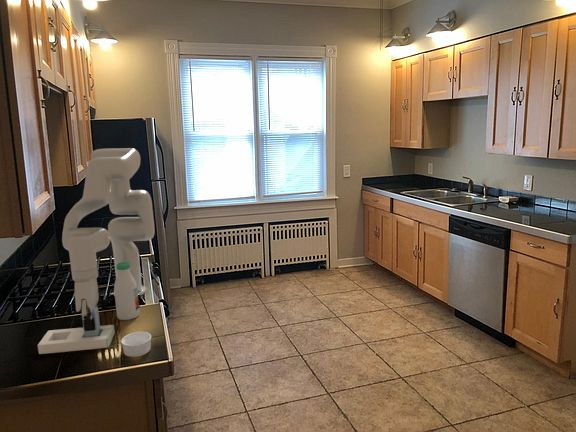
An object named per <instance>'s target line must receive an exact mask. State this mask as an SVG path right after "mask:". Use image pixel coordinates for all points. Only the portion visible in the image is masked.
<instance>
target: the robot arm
mask: <svg viewBox="0 0 576 432" xmlns="http://www.w3.org/2000/svg"><path fill="white" fill-rule="evenodd" d="M140 166H141V155H140V152H139V151H138V150H137V149H136V148H133V147H132V148H131V147H127V148H125V147H124V148H123V147H122V148H121V147H120V148H115V147H114V148H109V147H108V148H98V149H95V150H93V151H92V152H91V154H90V160H89V161H88V163H87V167H86V171H85V172H86V174H85V180H84V181H85V182H84V186H83V187H84V188H83V192H82V198H80V199H79V201H78V202H76V203H75V204H74V205H73V206H72V208H71V209H70V210H69V212H68V213H67V214H66V216H65V218H64V222H63V229H62V236H61V238H62V239H61V242H62V246H63V248H64V249H65V250H67V251H68V254H69V262H70V268H71V269H70V270H71V277H72V280H73V282H74V300H75V311H76V312H77V313H78V312H81V318H82V317H83V321H82V323H83V322H84V330H85V331H93V330H95V329H96V328H95V320H94V318H93V309H94V307H98V306H97V304H98V303H99V299H100V295H99V287H98V282H97V281H98V280H97V278H98V277H99V268H98V261H97V253H98V252H102V251H104V250H105V249H107V248H108V246H109V245H110V243H111V247H112V253H113V261H114V270H115V271H114V272H115V279H116V278H117V274H118V271H117V268H116V265H117V264H118V263H121V262H129V263H130V272H131V275H132V276H133V278H134V280H135V282H136V286H137V293H138V294H139V295H140V296H142V295H144V294H145V293H146V292H147V288H146V286H145V285H143V284H142V276H141V265H140V251H139V249H138V247H137V246H136V244H135V243H134V242H142V241H151V240H152V239H153V238H154V236H155V232H156V230H155V220H154V219H155V218H154V210H153V201H152V197H151V194H150V193H149V191H147V190H144V189H136V190H135V189H133V190H132V189H131V186H130V185H131V183H130V179H132V178H133V176H134V175H135V174H136V173H137V172H138V170H139V168H140ZM107 205H109V206H108V207H109V211H110V212H111V213H112V214H113V215H119V216H122V217H115V218H113V219H111V220H110V221H109V222H108V225H107V229H106V228H105V227H104V228H103V227H78V226H79V223H80V222H81V220H82V219H83V218H85V217H86V216H88V215H89V214H91V213H93V212H95V211H97V210H99V209H102V208H103V207H104V208H105V207H106V206H107ZM125 215H126V216H125ZM127 215H129V216H127ZM131 215H138V216H131ZM113 296H114V297H115V291H113ZM87 308H90V309H87ZM87 312H90V314H89V313H87Z"/></svg>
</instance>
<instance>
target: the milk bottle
mask: <svg viewBox="0 0 576 432" xmlns="http://www.w3.org/2000/svg"><path fill="white" fill-rule="evenodd" d="M116 268H117V271H118V274H117V278H116V277H115V280H114V291H115V296H114V299H115V300H114V301H115V310H116V317H117V319H118V320H121V321H130V320H134V319H136V318H138V317H139V315H140V304H139V296H138V293H137V286H136V282H135V280H134V278H133V276H132V275H131V272H130V263H129V262H121V263H118V264H117V265H116ZM114 291H113V292H114Z"/></svg>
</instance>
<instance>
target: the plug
mask: <svg viewBox="0 0 576 432" xmlns="http://www.w3.org/2000/svg"><path fill="white" fill-rule="evenodd" d="M87 309H90V308H87ZM87 313H89V314H90V312H87ZM93 318H94V320H95V328H96V329H95V330H93V331H85V330H84V336H85V338H86V337H97V336H100V334H101V329H100V326H101V323H100V314H99V307H98V306H97V307H94V309H93ZM81 320H82V328H84V322H83V317H82V316H81Z"/></svg>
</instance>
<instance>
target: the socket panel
mask: <svg viewBox="0 0 576 432" xmlns="http://www.w3.org/2000/svg"><path fill="white" fill-rule="evenodd" d="M100 329H101V334H100V336H97V337H86V338H85V336H84V328H83V327H75V328H73V327H72V328H62V329H60V328H59V329H53V330H52V329H51V330H47V332H46V333H45V334H44V335H43V337H42V339H41V340H40V341H39V343H38V344H37V351H38V354H39V355H42V354H43V355H45V354H55V353H65V352H75V351H85V350H97V349H104V348H106V349H107V348H109V347H110V345H111V343H112V341H113V339H114V336H115V324H107V325H100Z"/></svg>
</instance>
